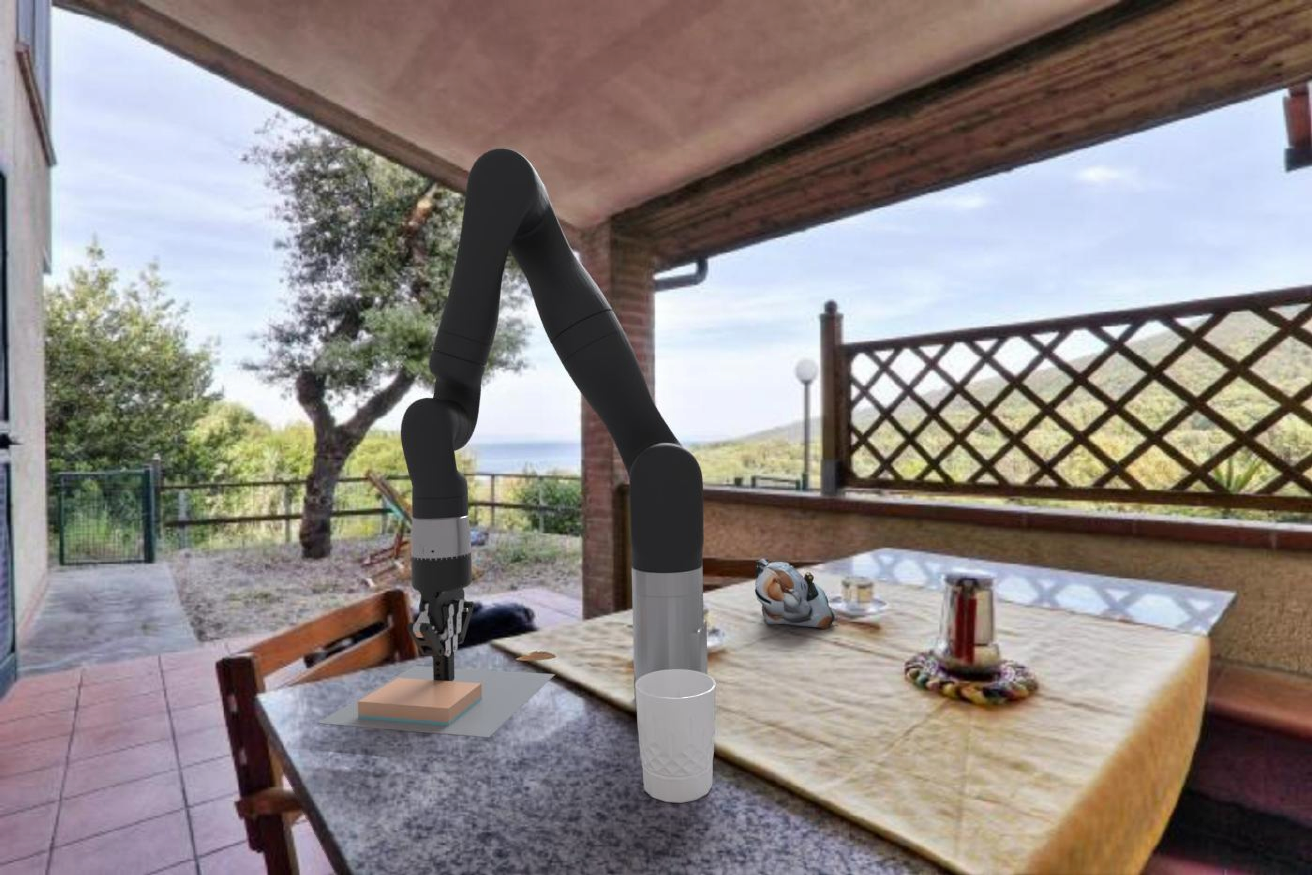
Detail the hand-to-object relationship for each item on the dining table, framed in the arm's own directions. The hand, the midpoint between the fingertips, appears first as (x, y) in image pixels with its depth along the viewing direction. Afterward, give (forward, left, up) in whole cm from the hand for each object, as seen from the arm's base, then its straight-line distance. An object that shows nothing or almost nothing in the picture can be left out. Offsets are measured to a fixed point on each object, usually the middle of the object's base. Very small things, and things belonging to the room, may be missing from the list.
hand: (444, 682), depth 88 cm
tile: (0, +1, 0) cm, 1 cm away
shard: (-9, -17, -3) cm, 19 cm away
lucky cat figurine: (-44, -44, -3) cm, 62 cm away
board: (-1, +1, -2) cm, 3 cm away
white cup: (-34, +15, -3) cm, 37 cm away
